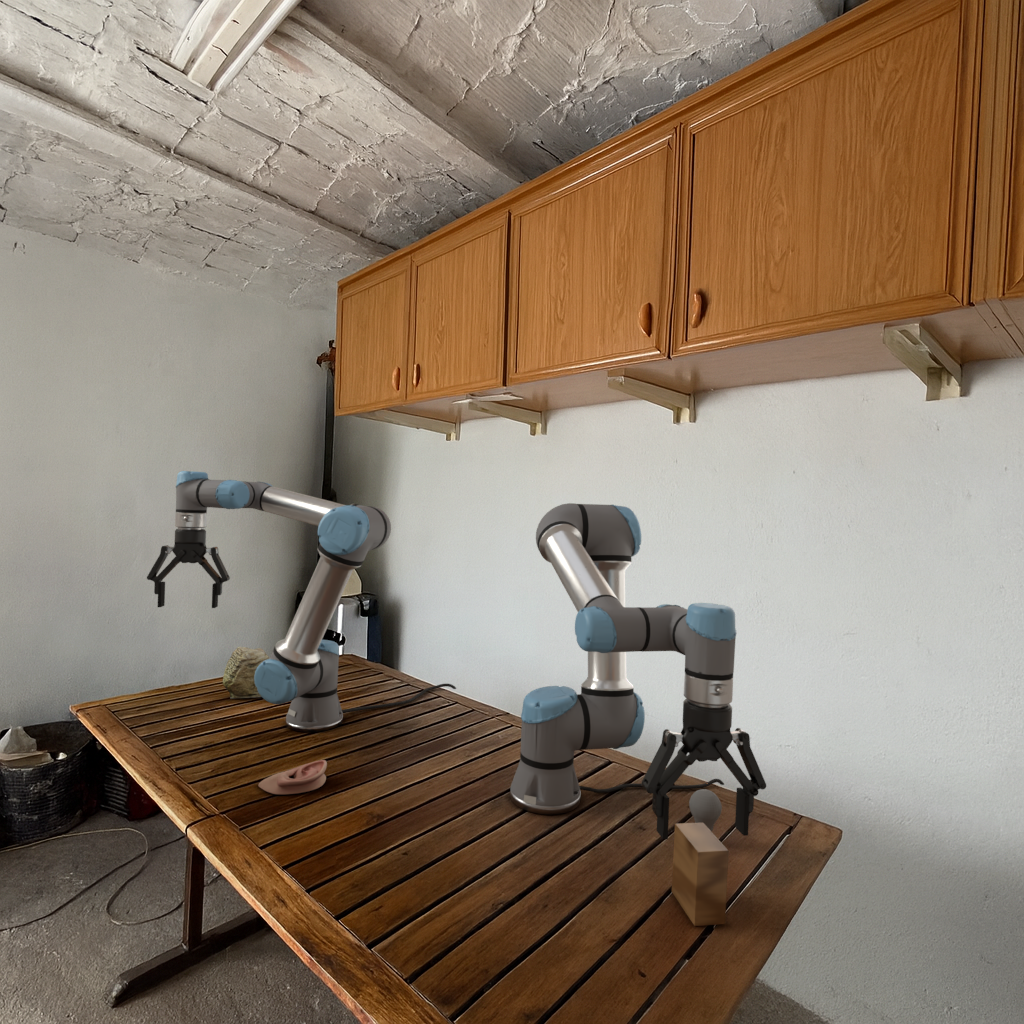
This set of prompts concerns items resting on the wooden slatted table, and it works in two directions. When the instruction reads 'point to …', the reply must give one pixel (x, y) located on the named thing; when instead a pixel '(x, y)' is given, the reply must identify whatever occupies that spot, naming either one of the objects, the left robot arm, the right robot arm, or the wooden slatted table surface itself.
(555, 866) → the wooden slatted table surface
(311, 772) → the anatomical model
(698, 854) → the brick
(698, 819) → the light bulb
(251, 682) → the fossil
